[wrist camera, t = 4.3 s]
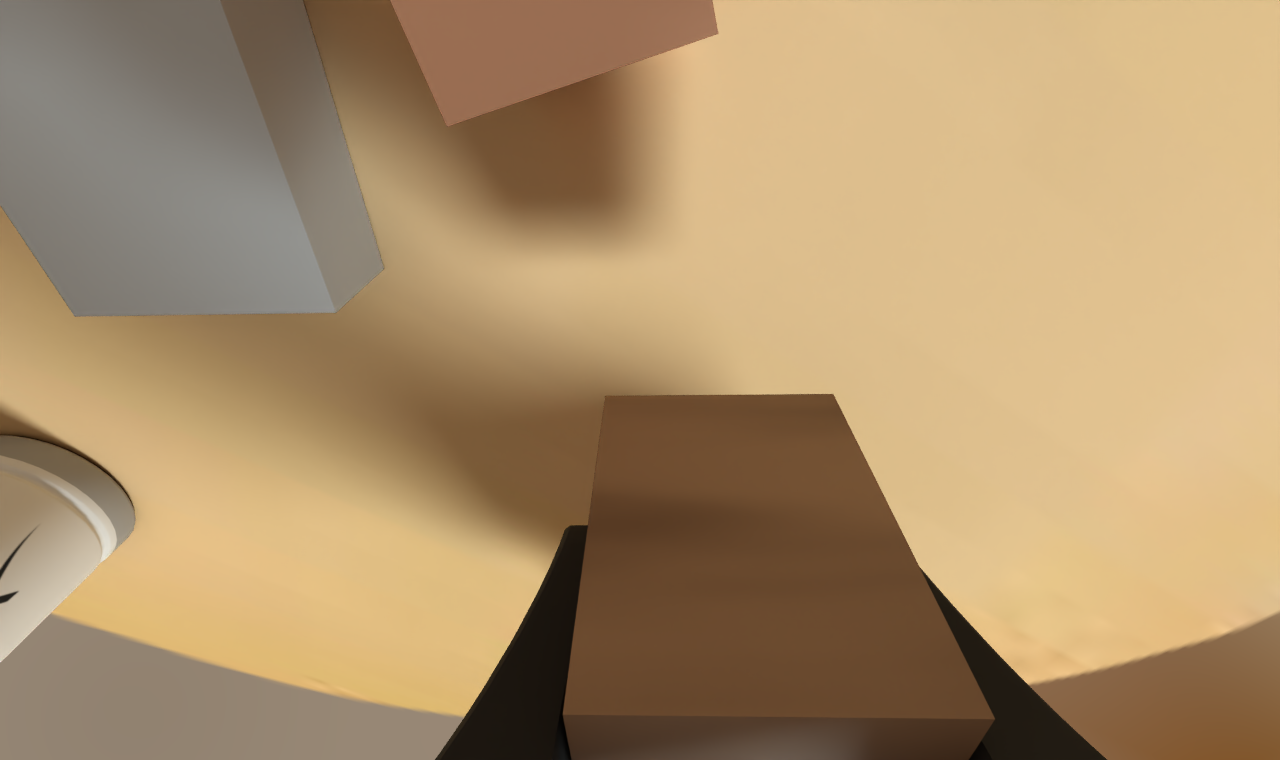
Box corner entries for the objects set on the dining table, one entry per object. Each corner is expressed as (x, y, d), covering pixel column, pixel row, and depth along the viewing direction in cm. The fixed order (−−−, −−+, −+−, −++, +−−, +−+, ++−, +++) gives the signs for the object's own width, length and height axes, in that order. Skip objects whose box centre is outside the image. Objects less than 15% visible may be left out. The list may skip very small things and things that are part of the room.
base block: (383, 268, 17) (336, 312, 14) (161, 272, 17) (74, 316, 14) (298, -15, 13) (210, -25, 10) (10, -6, 13) (-146, -12, 10)
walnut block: (802, 548, 13) (895, 872, 8) (615, 548, 13) (592, 866, 8) (833, 394, 11) (994, 719, 6) (605, 396, 11) (562, 714, 6)
